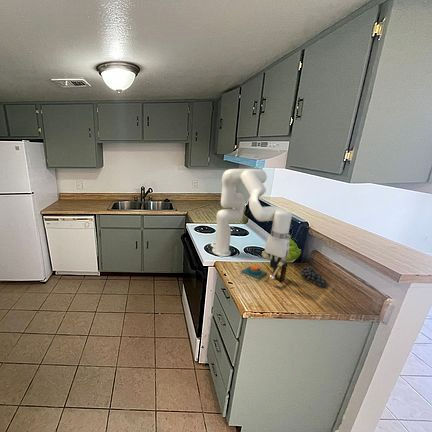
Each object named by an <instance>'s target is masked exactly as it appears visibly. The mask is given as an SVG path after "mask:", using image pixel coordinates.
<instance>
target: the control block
mask: <svg viewBox="0 0 432 432" xmlns="http://www.w3.org/2000/svg"><path fill="white" fill-rule="evenodd" d="M251 266H252V265H250V266H247V267H246V268H244V269H242V270H241V272H240V273H241V274H244V275H246V276H249V277H251V278H253V279H256V280H259V279H261V278H262V277H264V276H266V275H267V272H266V271H265V270H262V269H261V268H260V267H258V271H253V270H251Z"/></svg>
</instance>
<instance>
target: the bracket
mask: <svg viewBox="0 0 432 432" xmlns="http://www.w3.org/2000/svg"><path fill="white" fill-rule="evenodd" d="M279 262H280V260H279V261H278V263H279ZM278 263H277V265H278ZM283 263H284V264H283V265H282V269H280V276H279V281H278V282H279V283H281V284H282V283H283V282H284V281H285V280H286V275H287V269H288V265H289V264H288V263H289V262H283ZM276 269H277V267H275V268H272V274H273V273H274V272H275V270H276ZM278 274H279V271H278V272H277V274H276V275H275V279H276V278H278Z"/></svg>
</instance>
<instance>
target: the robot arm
mask: <svg viewBox="0 0 432 432" xmlns="http://www.w3.org/2000/svg"><path fill="white" fill-rule="evenodd" d="M267 178H268V176H267V173H266V171H265V170H263V169H261V168H260V169H259V168H258V169H257V168H230V169H227V170H225V171H223V173H222V176H221V185H222V189H221V196H220V206H221V207H222V208H224V209H220V210H218V211H217V212H216V231H215V232H216V233H215V241H214V243H213V242H212V243H211V244H210V247H211V248H212V249H211V252H212V254H214V255H216V256H219V257H229V256H231V254H232V252H231V250H230V243H231V236H232V235H231V234H232V228H231V226H230V224H234V223H239V222H241V221H242V220H243V216H244V211H245V205H246V199H245V196H244V194H242V193H239V192H236V191H237V187H236V183H242V184H243V185H244V188H245V189H246V191H247V192H248V194H249V200H248V209H249V210H250V213H251V214H252V217H254V219H255V220H256V221H258V222H271V221H272V225H271V230H270V234H269V235H268V237H267V239H266V242H265V246H264V251H265V252H264V253H265V254H267V255H268V256H269V257H270V259H269V260H270V261H269V265H270V266H269V267H270V268H272V269H274V268H275V267H277V263H278V261H279V260H287V256H288V253H289V238H292V235H291V234H290V228H291V223H292V219H293V213H292V212H291V211H290V210H286V209H283V208H281V207H280V206H277V205H271V206H268V205H267V206H262V205H261V202H260V200H259V198H260V197H262V196H264V194H265V193H266V191H267V188H266V187H265V185H264V183H265V182H266V181H267ZM275 256H276V258H275Z"/></svg>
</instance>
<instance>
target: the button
mask: <svg viewBox="0 0 432 432" xmlns="http://www.w3.org/2000/svg"><path fill="white" fill-rule="evenodd" d="M250 266H251V270H253V271H258V268H259V266H257V265H253V264H252V265H250Z"/></svg>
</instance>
